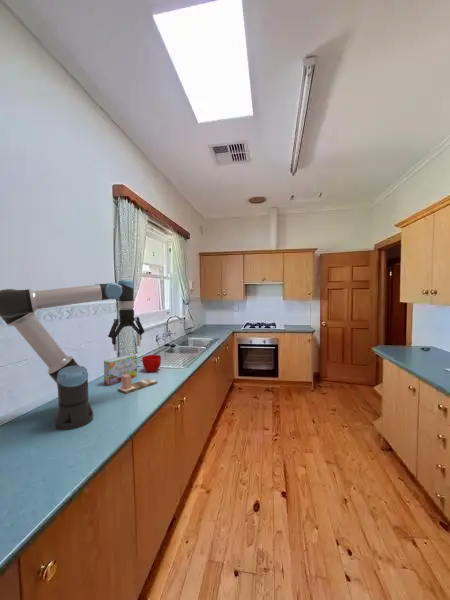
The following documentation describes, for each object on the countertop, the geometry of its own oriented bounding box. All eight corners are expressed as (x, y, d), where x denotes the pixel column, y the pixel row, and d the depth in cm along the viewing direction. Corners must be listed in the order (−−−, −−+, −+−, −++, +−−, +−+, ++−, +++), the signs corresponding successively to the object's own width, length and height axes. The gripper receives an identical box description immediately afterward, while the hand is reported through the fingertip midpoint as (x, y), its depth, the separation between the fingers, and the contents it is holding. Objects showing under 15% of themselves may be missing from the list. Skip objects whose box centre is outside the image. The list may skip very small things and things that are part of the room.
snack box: (109, 386, 164) (108, 361, 164) (103, 384, 167) (103, 360, 167) (137, 376, 182) (137, 354, 182) (132, 375, 185) (131, 353, 185)
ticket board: (126, 393, 152) (126, 390, 152) (118, 390, 158) (118, 387, 158) (157, 383, 168) (157, 380, 168) (148, 380, 174) (148, 378, 174)
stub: (125, 391, 152) (125, 378, 152) (117, 388, 157) (117, 375, 157) (135, 388, 157) (135, 375, 157) (128, 385, 162) (127, 373, 162)
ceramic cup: (151, 376, 183) (151, 361, 183) (139, 371, 195) (138, 357, 194) (168, 371, 192) (167, 357, 192) (154, 367, 204) (154, 354, 204)
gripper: (142, 307, 157) (143, 343, 158) (100, 310, 138) (101, 351, 139) (150, 307, 153) (151, 345, 153) (107, 310, 133) (109, 353, 134)
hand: (127, 348), depth 146 cm, fingers open, 13 cm apart
